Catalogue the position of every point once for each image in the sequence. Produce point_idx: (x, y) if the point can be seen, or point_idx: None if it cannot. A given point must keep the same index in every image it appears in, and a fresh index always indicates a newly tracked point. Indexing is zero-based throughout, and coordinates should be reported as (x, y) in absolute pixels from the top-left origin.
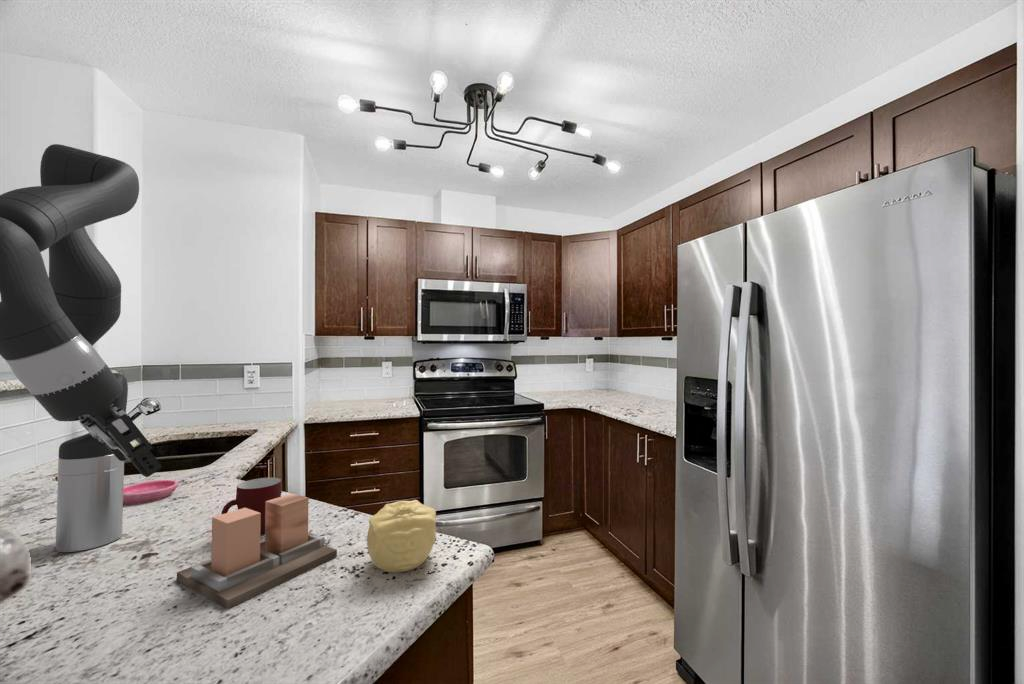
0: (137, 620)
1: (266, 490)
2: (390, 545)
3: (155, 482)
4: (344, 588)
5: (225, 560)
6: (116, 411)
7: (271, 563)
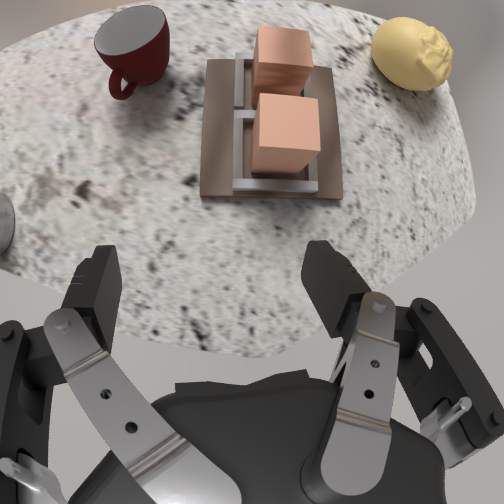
0: (271, 264)
1: (164, 31)
2: (439, 85)
3: None
4: (398, 122)
5: (299, 167)
6: (443, 479)
7: None
